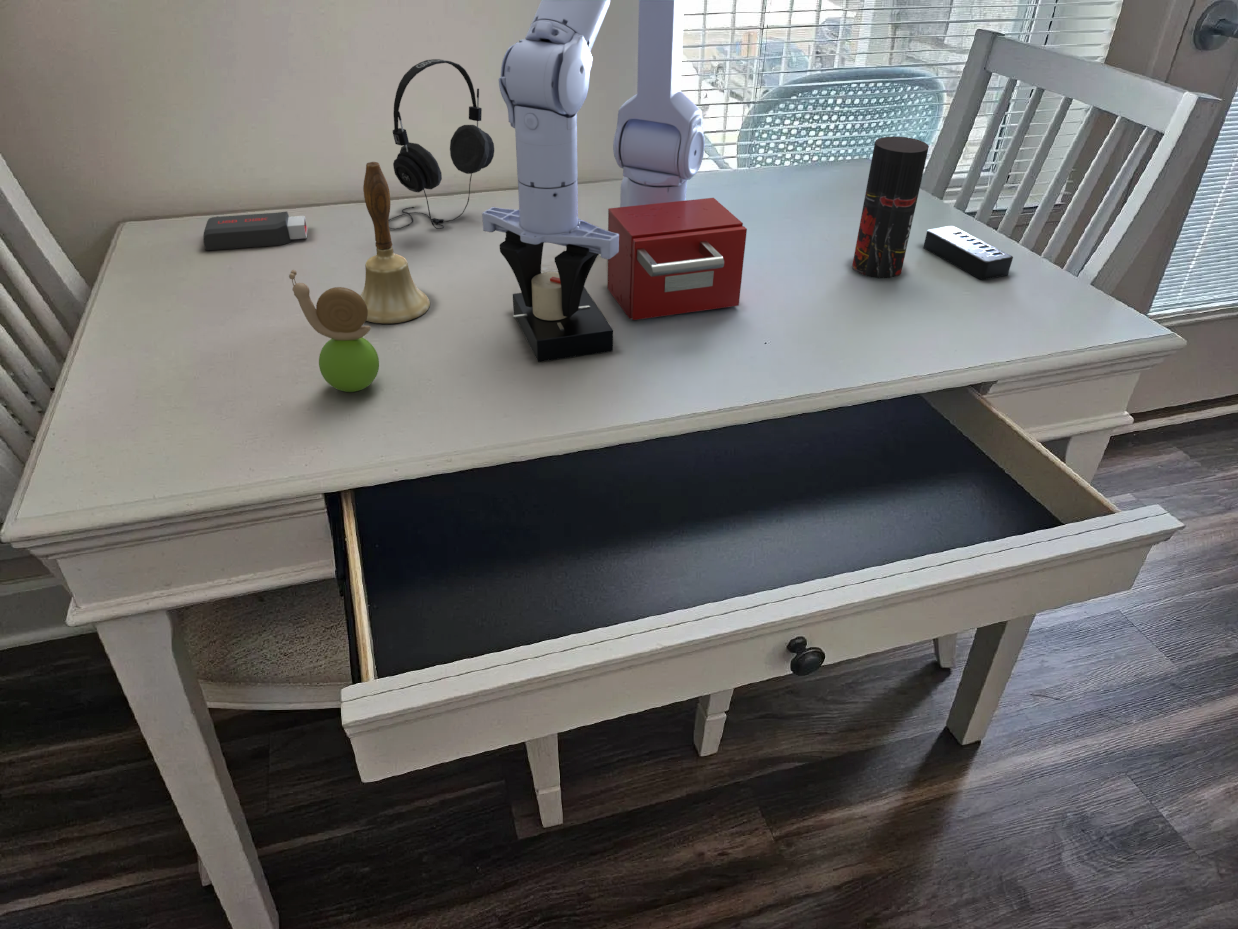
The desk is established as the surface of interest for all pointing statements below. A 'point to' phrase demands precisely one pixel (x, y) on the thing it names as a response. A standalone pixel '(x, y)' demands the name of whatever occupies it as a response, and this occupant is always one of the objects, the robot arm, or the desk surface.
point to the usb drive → (253, 230)
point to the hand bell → (387, 262)
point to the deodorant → (889, 206)
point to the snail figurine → (341, 336)
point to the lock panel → (565, 331)
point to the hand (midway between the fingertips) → (551, 307)
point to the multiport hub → (968, 252)
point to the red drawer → (687, 272)
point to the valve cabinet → (657, 233)
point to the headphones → (466, 145)
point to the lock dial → (547, 296)
